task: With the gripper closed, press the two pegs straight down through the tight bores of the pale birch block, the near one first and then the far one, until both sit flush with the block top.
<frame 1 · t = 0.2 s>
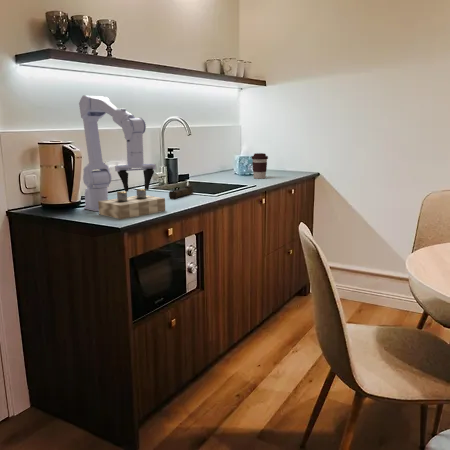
hand: (136, 190, 170), 10 cm above the table, tool pointing down, fingers open, 7 cm apart
far peg: (141, 195, 184), point 6 cm above the table, slide at 3.5 cm
coffee cup: (259, 178, 288), on the table
twin-bore block: (132, 212, 182), on the table
near peg: (122, 197, 177), point 6 cm above the table, slide at 3.5 cm
hand tool: (181, 196, 222), on the table
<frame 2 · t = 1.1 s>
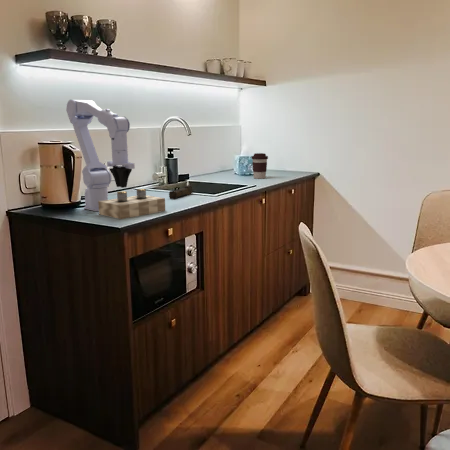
hand: (121, 187, 176), 10 cm above the table, tool pointing down, fingers closed
nothing on the table moved.
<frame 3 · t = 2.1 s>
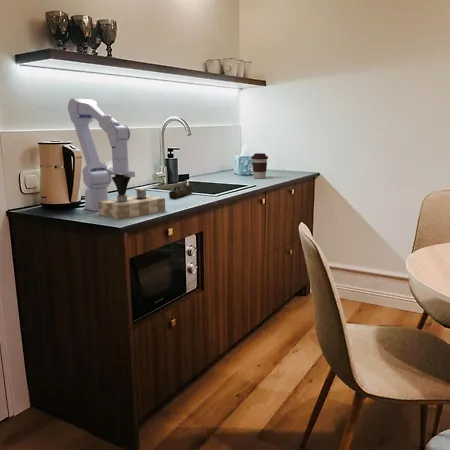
hand: (122, 195, 177), 7 cm above the table, tool pointing down, fingers closed, pressing on near peg
near peg: (122, 200, 177), point 5 cm above the table, slide at 2.4 cm, touching gripper
everything else where it was.
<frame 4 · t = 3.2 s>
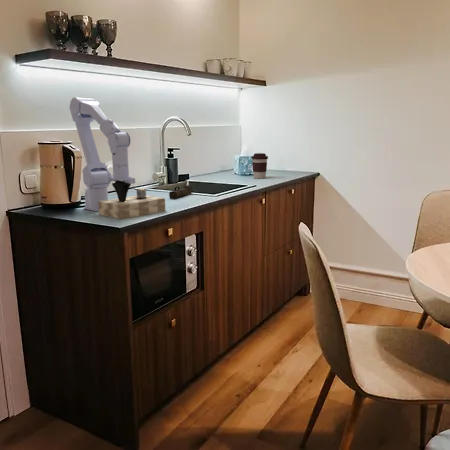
hand: (122, 201, 177), 5 cm above the table, tool pointing down, fingers closed
near peg: (122, 207, 178), point 3 cm above the table, slide at 0.0 cm
everything else where it was.
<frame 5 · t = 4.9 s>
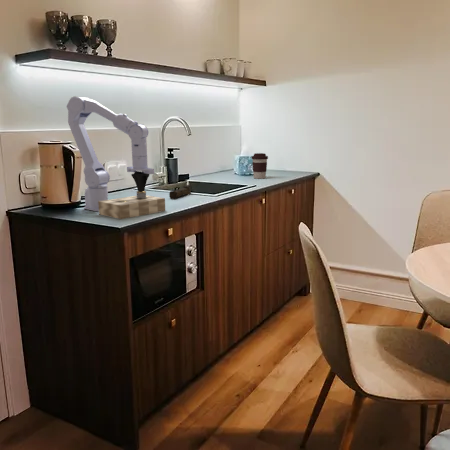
hand: (141, 191, 183), 8 cm above the table, tool pointing down, fingers closed, pressing on far peg
far peg: (141, 197, 184), point 5 cm above the table, slide at 2.7 cm, touching gripper
everything else where it was.
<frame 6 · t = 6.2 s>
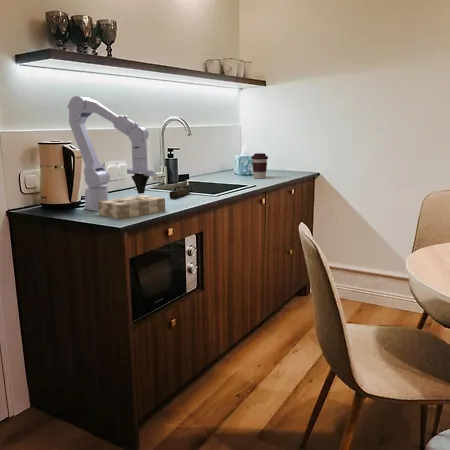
hand: (141, 193, 183), 7 cm above the table, tool pointing down, fingers closed
far peg: (141, 204, 184), point 3 cm above the table, slide at 0.0 cm
everything else where it was.
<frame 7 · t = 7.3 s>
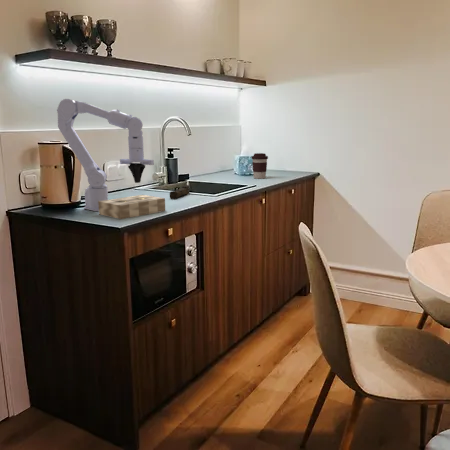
hand: (137, 182, 189), 10 cm above the table, tool pointing down, fingers closed
nothing on the table moved.
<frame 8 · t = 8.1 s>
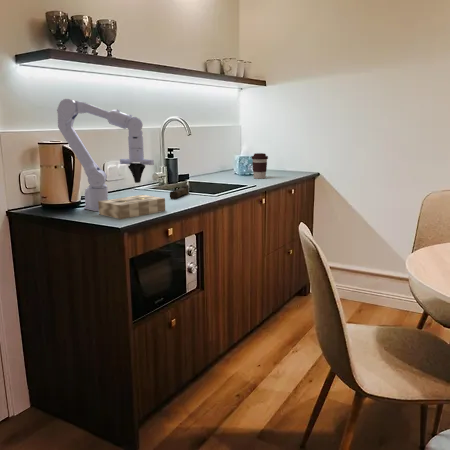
hand: (137, 182, 189), 10 cm above the table, tool pointing down, fingers closed
at the end: near peg slide at 0.0 cm; far peg slide at 0.0 cm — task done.
